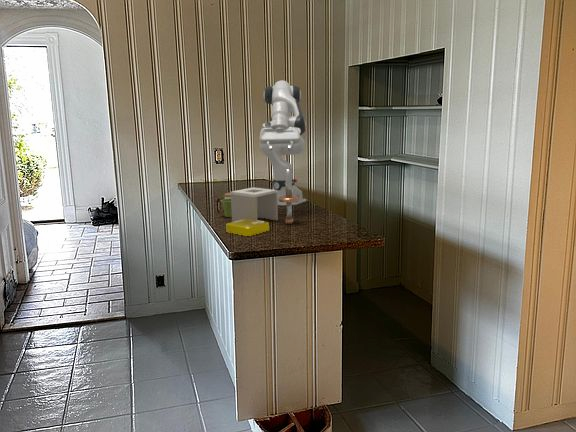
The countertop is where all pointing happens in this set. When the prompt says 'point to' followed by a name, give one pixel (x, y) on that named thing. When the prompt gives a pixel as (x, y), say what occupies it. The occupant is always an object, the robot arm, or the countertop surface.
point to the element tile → (247, 227)
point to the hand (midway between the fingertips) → (280, 149)
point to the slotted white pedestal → (254, 204)
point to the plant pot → (227, 207)
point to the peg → (289, 196)
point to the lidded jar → (227, 195)
